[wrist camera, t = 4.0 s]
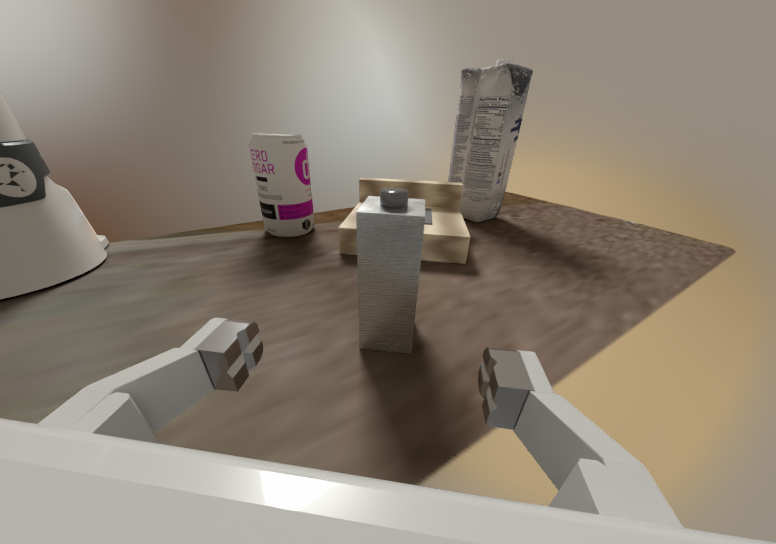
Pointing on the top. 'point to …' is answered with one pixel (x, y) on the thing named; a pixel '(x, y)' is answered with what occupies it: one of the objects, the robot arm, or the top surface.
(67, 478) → the robot arm
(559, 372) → the top surface
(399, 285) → the square capped bottle
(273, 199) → the supplement can
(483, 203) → the juice carton
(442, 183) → the birch stand
